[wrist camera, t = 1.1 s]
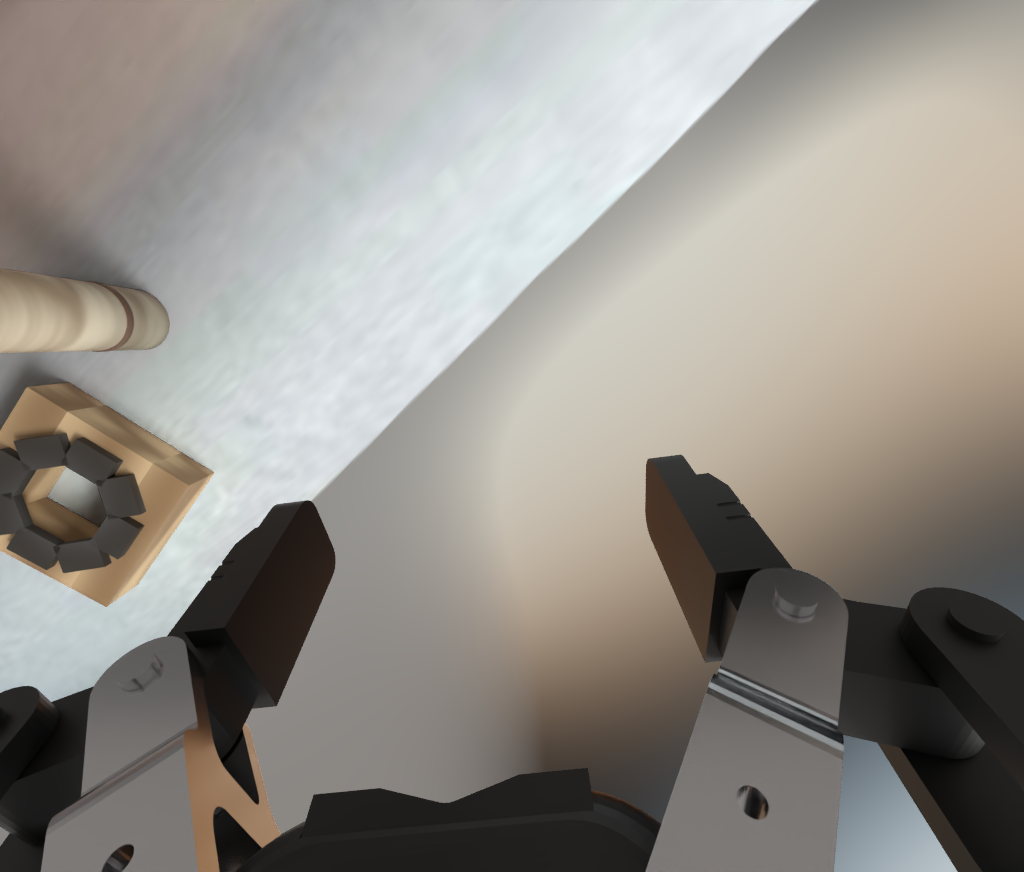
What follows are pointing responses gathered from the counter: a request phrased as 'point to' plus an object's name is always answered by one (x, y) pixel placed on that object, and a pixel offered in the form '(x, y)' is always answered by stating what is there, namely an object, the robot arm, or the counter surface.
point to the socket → (120, 480)
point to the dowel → (76, 315)
